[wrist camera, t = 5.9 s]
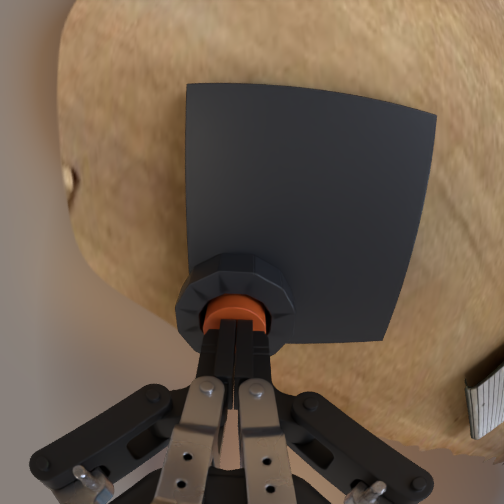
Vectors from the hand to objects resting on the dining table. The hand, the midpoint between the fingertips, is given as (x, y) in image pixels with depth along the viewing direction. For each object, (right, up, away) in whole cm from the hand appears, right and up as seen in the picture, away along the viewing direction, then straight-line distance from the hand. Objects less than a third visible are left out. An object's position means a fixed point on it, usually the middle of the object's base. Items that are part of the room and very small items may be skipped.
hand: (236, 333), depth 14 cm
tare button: (0, +1, +2) cm, 2 cm away
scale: (+4, +5, +2) cm, 7 cm away
